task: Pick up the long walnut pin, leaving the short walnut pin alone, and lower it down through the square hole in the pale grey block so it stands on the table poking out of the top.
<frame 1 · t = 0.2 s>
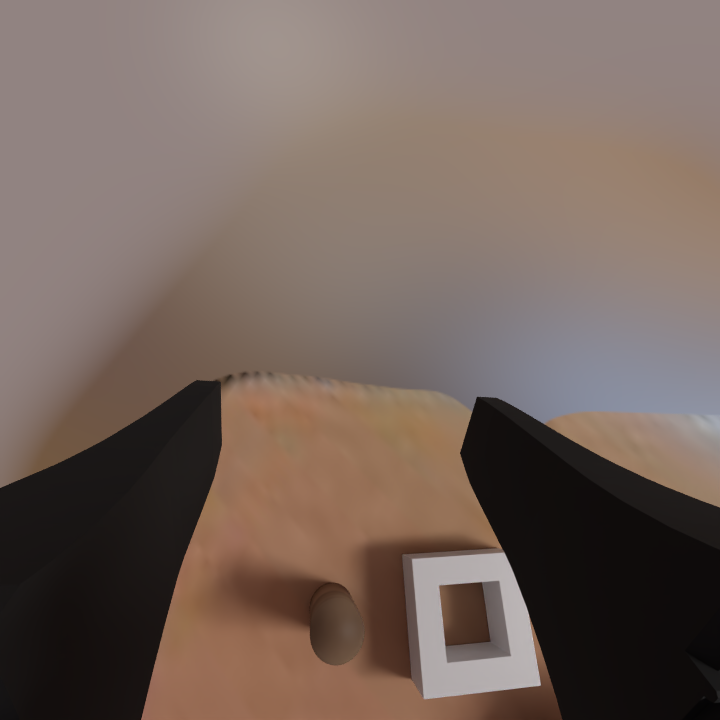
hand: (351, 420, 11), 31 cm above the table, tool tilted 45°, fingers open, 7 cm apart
hole block: (457, 609, 37), on the table
long pin: (331, 607, 36), on the table
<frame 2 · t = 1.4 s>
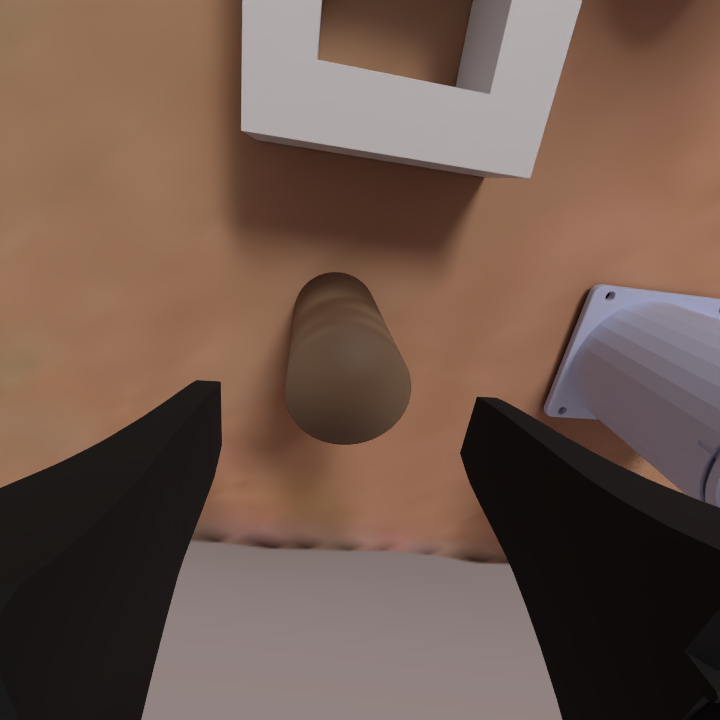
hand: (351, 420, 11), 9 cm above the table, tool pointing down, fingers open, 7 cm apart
hole block: (397, 11, 15), on the table
long pin: (335, 312, 19), on the table
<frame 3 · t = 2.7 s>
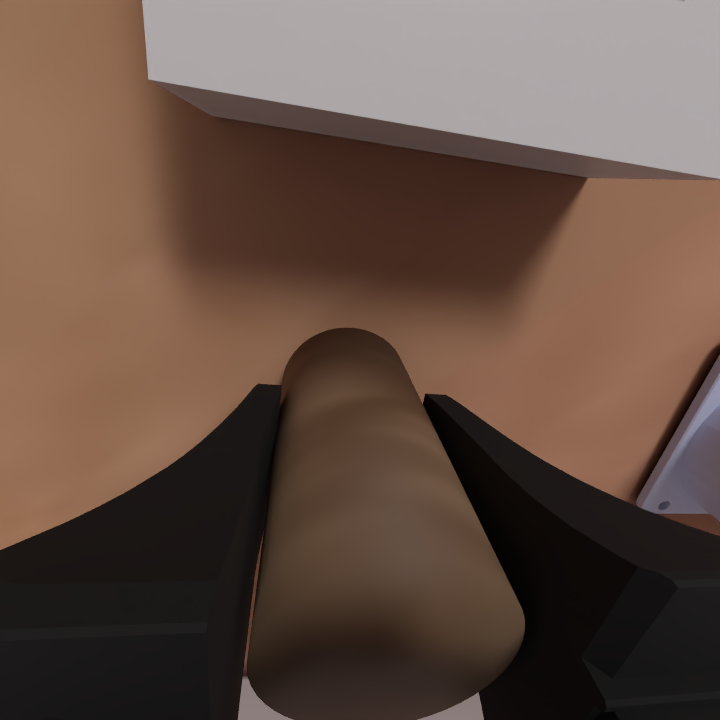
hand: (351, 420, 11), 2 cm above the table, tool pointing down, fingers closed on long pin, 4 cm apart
long pin: (345, 384, 13), on the table, touching gripper
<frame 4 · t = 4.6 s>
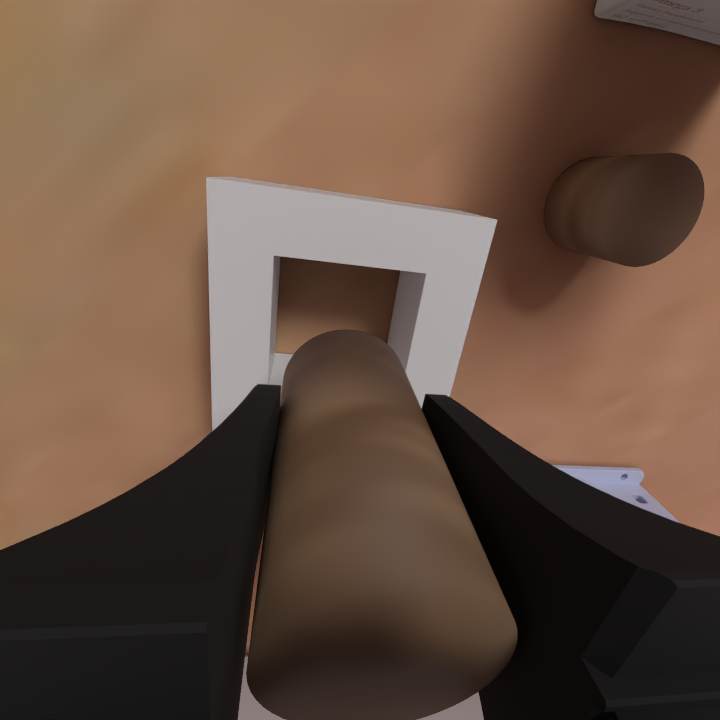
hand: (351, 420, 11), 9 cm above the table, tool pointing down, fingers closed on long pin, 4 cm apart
hole block: (336, 305, 19), on the table
long pin: (344, 385, 13), point 7 cm above the table, touching gripper
short pin: (584, 205, 18), on the table
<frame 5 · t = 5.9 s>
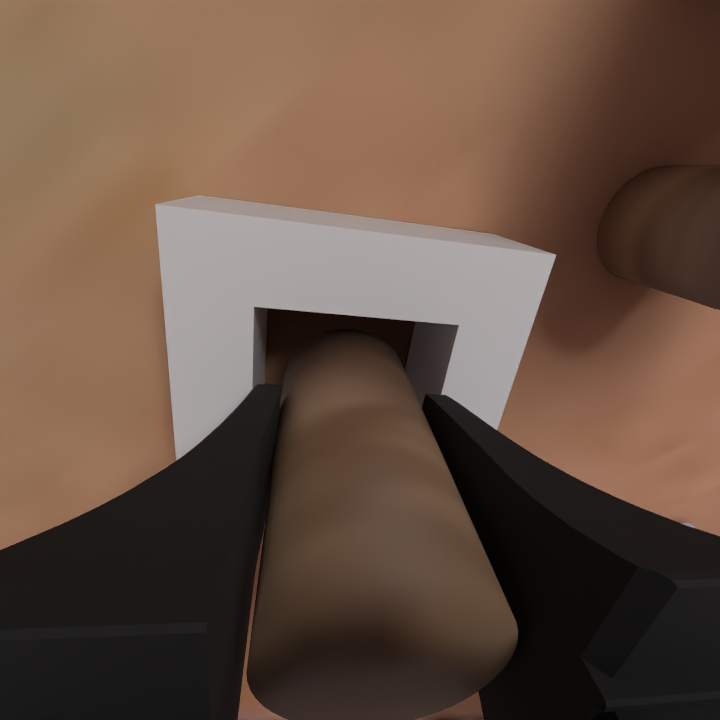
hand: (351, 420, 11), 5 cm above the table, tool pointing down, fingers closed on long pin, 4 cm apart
hole block: (339, 350, 15), on the table
long pin: (344, 385, 13), point 3 cm above the table, touching gripper
short pin: (648, 225, 15), on the table
when the fingers open (5 cm above the table, at t = 6.5 s): long pin drops 3 cm, resting in hole block.
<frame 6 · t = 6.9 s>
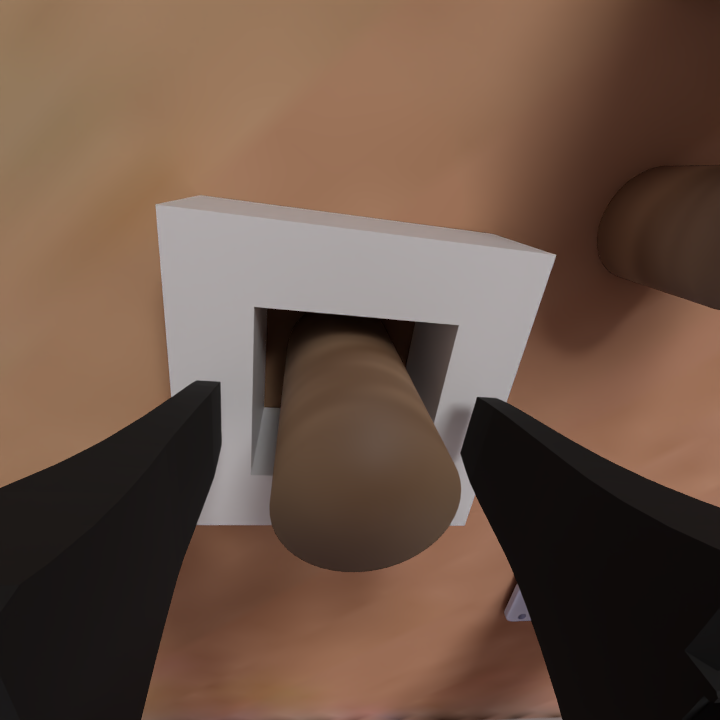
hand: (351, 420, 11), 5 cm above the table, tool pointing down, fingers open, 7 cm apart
hole block: (339, 350, 15), on the table
long pin: (339, 351, 15), resting in hole block
short pin: (648, 225, 15), on the table
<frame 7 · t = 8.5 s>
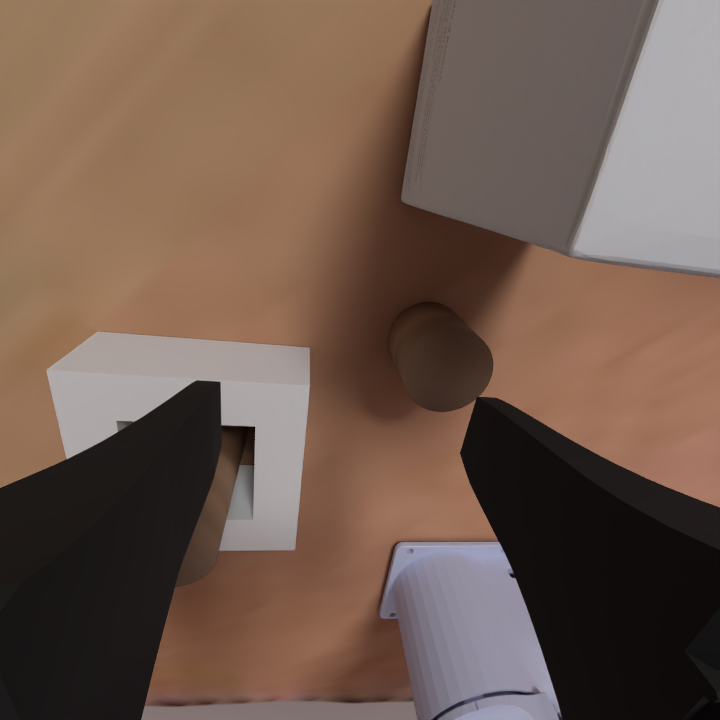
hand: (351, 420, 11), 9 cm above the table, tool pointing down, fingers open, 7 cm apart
hole block: (210, 423, 21), on the table
long pin: (211, 424, 21), resting in hole block
short pin: (424, 338, 21), on the table
supplement box: (492, 125, 17), on the table
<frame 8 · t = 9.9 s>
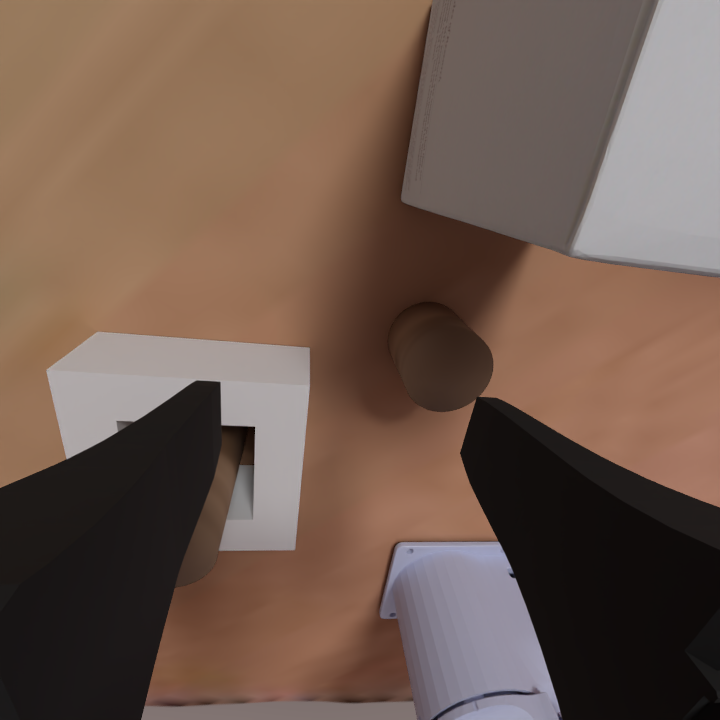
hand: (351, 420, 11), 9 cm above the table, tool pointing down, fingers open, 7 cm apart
hole block: (210, 424, 21), on the table
long pin: (210, 424, 21), resting in hole block
short pin: (424, 338, 21), on the table
supplement box: (492, 125, 17), on the table
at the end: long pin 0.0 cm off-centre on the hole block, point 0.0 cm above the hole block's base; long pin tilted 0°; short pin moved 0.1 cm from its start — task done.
